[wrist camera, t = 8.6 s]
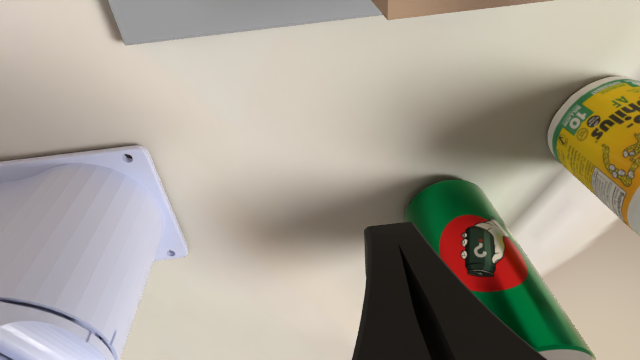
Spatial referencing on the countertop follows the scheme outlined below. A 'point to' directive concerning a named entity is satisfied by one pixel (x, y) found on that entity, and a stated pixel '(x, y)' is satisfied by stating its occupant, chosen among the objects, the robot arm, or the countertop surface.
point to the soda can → (494, 266)
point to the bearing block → (438, 6)
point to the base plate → (225, 16)
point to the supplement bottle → (603, 143)
